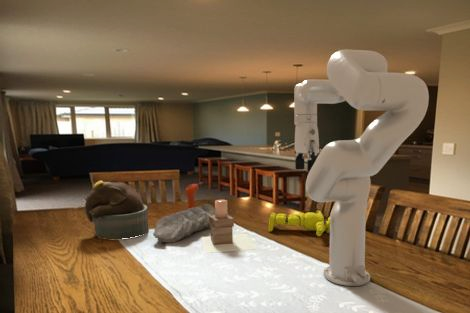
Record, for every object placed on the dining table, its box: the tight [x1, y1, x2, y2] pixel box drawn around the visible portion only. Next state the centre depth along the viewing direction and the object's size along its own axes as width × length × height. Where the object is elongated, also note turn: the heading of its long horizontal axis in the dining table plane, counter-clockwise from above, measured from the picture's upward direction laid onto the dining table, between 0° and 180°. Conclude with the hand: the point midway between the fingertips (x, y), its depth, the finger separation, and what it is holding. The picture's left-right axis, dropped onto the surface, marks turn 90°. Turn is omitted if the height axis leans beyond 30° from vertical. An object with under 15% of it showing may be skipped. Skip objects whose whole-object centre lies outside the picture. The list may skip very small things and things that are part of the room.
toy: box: [268, 210, 330, 237], centre depth 149 cm, size 30×9×30 cm
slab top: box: [209, 214, 235, 229], centre depth 134 cm, size 7×7×3 cm
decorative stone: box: [152, 204, 215, 244], centre depth 146 cm, size 32×15×10 cm, turn 151°
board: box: [200, 233, 259, 254], centre depth 133 cm, size 18×18×1 cm
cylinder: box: [214, 199, 228, 219], centre depth 133 cm, size 4×4×6 cm
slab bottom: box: [210, 232, 234, 245], centre depth 134 cm, size 7×7×3 cm
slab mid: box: [210, 226, 234, 237], centre depth 134 cm, size 7×7×3 cm
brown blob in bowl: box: [84, 180, 150, 239], centre depth 148 cm, size 23×25×22 cm
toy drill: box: [184, 181, 203, 209], centre depth 184 cm, size 5×19×15 cm, turn 162°
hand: (305, 170), depth 125 cm, fingers open, 9 cm apart
